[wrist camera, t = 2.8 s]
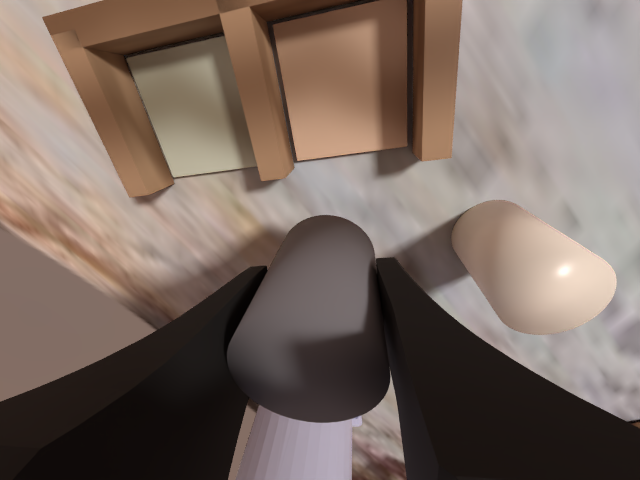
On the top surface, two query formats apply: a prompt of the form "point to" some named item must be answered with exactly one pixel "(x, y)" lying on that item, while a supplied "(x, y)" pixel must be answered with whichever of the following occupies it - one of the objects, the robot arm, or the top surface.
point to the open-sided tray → (258, 82)
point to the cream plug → (531, 269)
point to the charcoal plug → (315, 327)
